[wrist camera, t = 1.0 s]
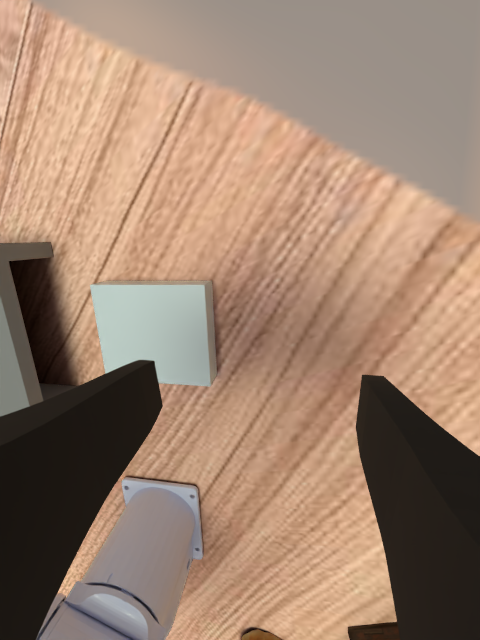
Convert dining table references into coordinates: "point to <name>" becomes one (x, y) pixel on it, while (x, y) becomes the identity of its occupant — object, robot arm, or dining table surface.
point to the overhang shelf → (19, 337)
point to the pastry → (259, 636)
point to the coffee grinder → (375, 632)
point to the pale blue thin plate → (158, 327)
